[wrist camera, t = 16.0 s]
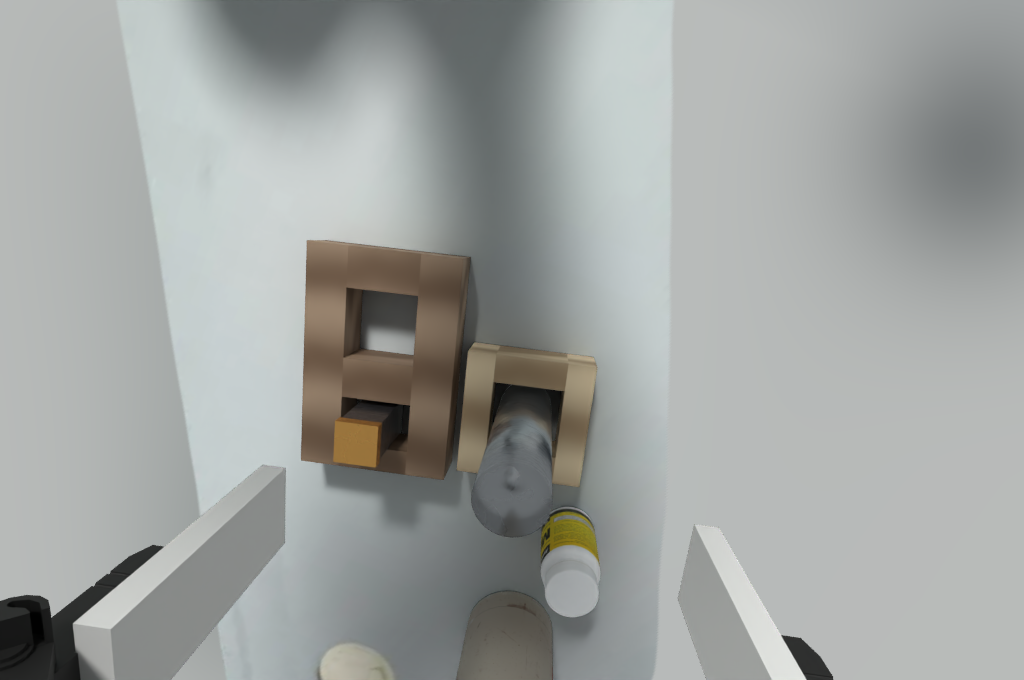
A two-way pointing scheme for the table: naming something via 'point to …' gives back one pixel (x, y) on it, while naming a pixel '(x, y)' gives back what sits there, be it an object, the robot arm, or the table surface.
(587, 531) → the supplement bottle
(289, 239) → the table surface
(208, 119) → the table surface
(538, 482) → the grey metal cylinder
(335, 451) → the key
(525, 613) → the thermos bottle
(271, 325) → the table surface
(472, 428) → the frame
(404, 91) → the table surface
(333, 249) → the socket block
